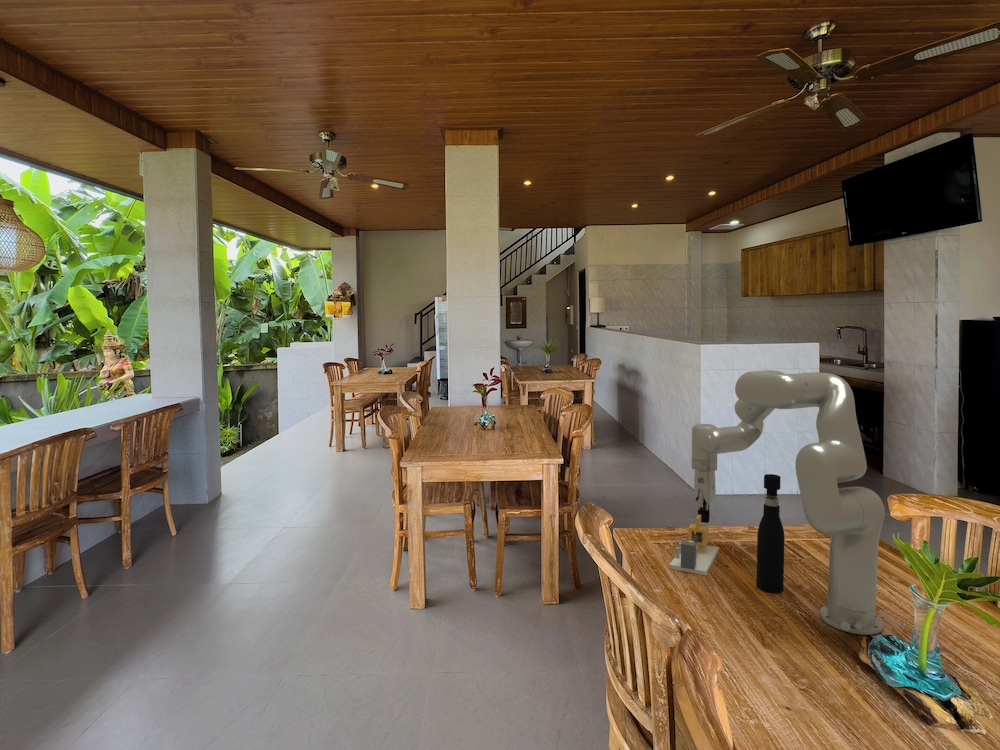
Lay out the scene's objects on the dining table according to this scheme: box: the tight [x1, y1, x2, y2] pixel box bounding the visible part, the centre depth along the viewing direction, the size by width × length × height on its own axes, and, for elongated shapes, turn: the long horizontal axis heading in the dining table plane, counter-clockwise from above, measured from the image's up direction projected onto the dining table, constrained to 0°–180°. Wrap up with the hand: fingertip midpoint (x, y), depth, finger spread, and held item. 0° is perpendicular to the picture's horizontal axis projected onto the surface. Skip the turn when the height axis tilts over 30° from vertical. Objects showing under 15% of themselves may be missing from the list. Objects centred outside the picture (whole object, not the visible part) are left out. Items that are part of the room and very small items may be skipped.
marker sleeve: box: [687, 514, 709, 547], centre depth 174 cm, size 4×5×8 cm
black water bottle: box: [756, 473, 786, 594], centre depth 150 cm, size 6×6×30 cm
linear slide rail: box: [669, 532, 720, 577], centre depth 170 cm, size 20×10×8 cm, turn 150°
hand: (703, 521), depth 181 cm, fingers closed
